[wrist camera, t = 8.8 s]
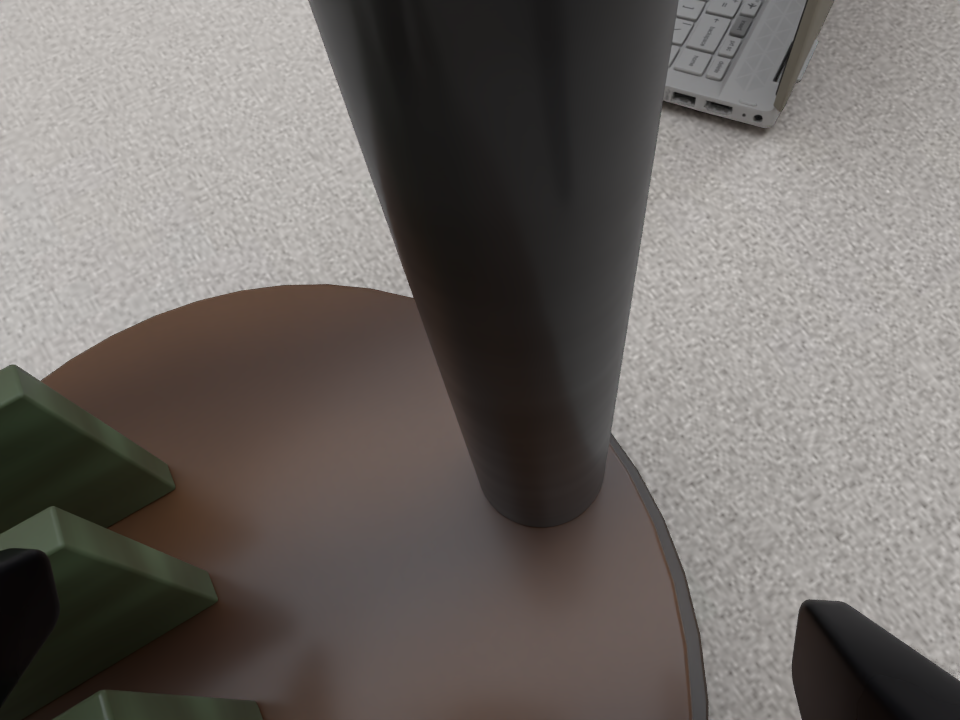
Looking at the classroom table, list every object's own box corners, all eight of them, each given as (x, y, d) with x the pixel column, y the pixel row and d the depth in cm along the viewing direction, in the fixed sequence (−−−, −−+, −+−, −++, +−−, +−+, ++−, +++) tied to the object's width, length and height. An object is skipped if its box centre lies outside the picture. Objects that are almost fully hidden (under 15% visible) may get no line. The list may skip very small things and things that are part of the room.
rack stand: (740, 1411, 10) (758, 1480, 9) (-323, 1178, 12) (-393, 1215, 11) (677, 318, 18) (683, 297, 17) (52, 310, 20) (28, 291, 19)
